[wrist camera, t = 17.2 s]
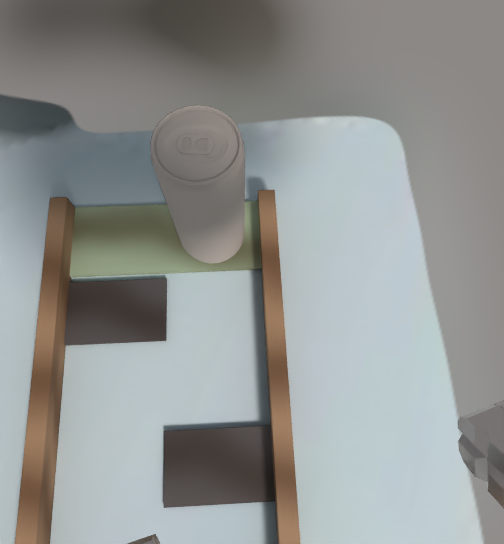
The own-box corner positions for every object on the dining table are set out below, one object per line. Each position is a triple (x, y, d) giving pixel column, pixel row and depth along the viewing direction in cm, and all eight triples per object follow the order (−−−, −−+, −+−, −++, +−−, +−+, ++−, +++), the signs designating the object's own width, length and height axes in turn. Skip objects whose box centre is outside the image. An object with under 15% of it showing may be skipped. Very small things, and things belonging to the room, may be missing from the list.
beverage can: (243, 267, 33) (243, 187, 21) (178, 265, 33) (142, 184, 21) (245, 208, 34) (246, 103, 23) (182, 206, 34) (152, 100, 23)
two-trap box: (302, 614, 26) (306, 630, 24) (21, 633, 26) (4, 651, 24) (272, 202, 35) (274, 189, 33) (60, 209, 34) (50, 197, 32)
